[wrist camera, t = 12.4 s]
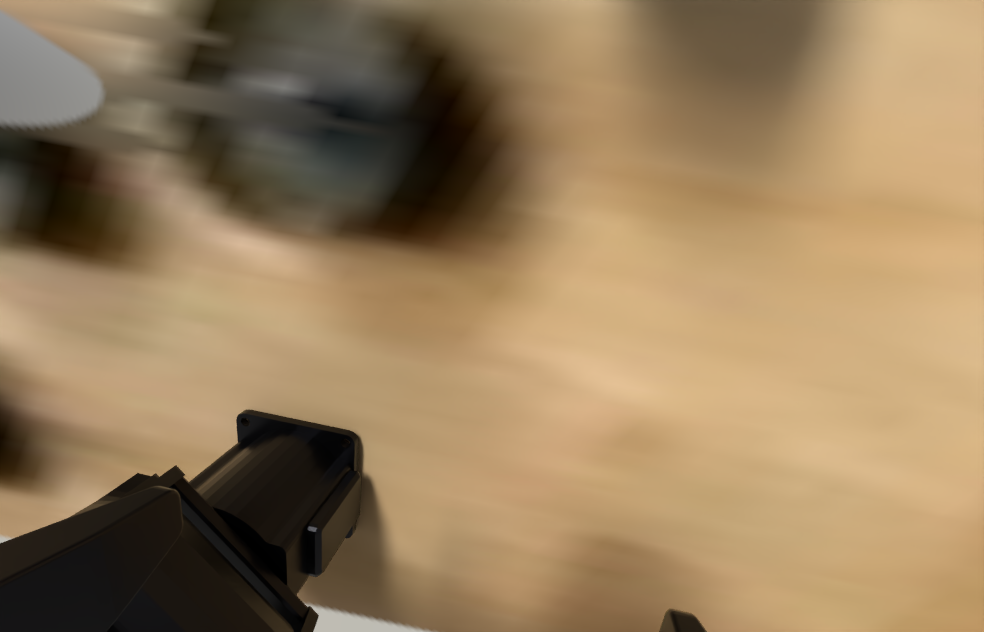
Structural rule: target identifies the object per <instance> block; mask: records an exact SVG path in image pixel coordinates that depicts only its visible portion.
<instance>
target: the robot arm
mask: <svg viewBox="0 0 984 632" xmlns="http://www.w3.org/2000/svg"><path fill="white" fill-rule="evenodd" d="M246 418H247V419H248V420H249V421H248V420H247V419H246ZM237 435H238V443H237V444H236V445H235V446H234V447H232V448H231V449H230V450H229V451H227V452H226V453H225V454H224V455H222V456H221V457H220V458H219V459H217V460H216V461H215V462H214V463H212V464H211V465H210V466H209V467H207V468H206V469H205V470H204V471H202V472H201V473H200V474H199V475H197V476H196V477H195V478H194V479H192V480H191V481H190V482H188V481H187V480H186V479H185V478H184V477H183V476H184V475H185V474H184V473H183V472H182V471H181V470H180V469H179V468H178V467H177V466H174V467H173V468H171V469H170V470H169V471H167V472H166V473H164V474H163V475H162V476H160V477H159V476H158V475H157V474H154V475H153V476H147V475H143V474H139V473H137V474H136V475H134V476H133V477H131V478H130V479H129V480H127V481H126V482H124V483H123V484H121V485H120V486H118V487H117V488H115V489H114V490H113V491H111V492H110V493H108V494H107V495H105V496H104V497H102V498H101V499H99V500H98V501H96V502H94V503H93V504H91V505H89V506H88V507H86V508H84V509H83V510H81V511H79V512H78V513H76V514H74V515H72V516H71V517H69V518H67V519H64V520H62V521H59V522H56V523H54V524H51V525H48V526H46V527H43V528H40V529H38V530H35V531H32V532H30V533H27V534H24V535H22V536H19V537H16V538H13V539H11V540H8V541H6V542H3V543H0V632H313V630H314V628H315V625H316V622H317V619H318V614H317V613H316V612H315V611H314V610H313V609H312V608H311V607H310V606H309V607H307V606H306V605H305V604H304V603H303V602H302V601H301V600H300V599H299V598H298V597H297V596H296V595H297V594H298V592H299V590H300V589H301V587H302V586H303V584H304V583H305V581H306V580H307V578H308V577H309V575H310V576H314V577H318V576H319V575H320V574H322V573H323V572H324V570H325V568H326V567H327V565H328V564H329V562H330V561H331V559H332V557H333V556H334V554H335V553H336V551H337V550H338V548H339V546H340V545H341V543H342V542H343V540H344V538H349V537H351V536H352V534H353V533H354V531H355V529H356V519H357V518H358V516H359V515H360V497H361V476H360V473H359V472H358V437H357V435H356V434H355V433H354V432H352V431H349V430H345V429H340V428H335V427H330V426H326V425H321V424H316V423H311V422H306V421H302V420H297V419H292V418H287V417H283V416H278V415H273V414H268V413H263V412H259V411H254V410H245V411H243V412H242V413H240V414H239V415H238V416H237ZM345 439H347V440H348V441H349V442H350V443H347V442H346V441H345ZM659 632H707V631H706V630H705V628H704V627H703V626H702V624H701V623H700V621H699V620H698V619H697V618H696V617H695V616H694V615H693V614H691V613H688V612H683V611H679V610H675V609H669V610H667V612H666V613H665V616H664V619H663V622H662V625H661V628H660V631H659Z"/></svg>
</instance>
